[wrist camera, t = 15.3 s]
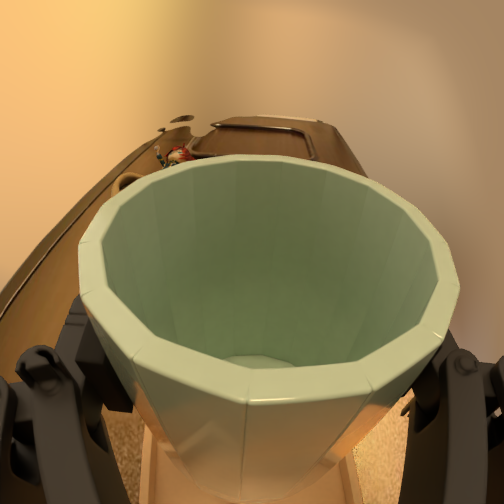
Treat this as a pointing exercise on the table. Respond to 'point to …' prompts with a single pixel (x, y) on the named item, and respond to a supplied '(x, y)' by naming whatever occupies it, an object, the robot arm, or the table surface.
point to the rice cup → (264, 313)
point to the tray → (195, 500)
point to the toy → (174, 156)
